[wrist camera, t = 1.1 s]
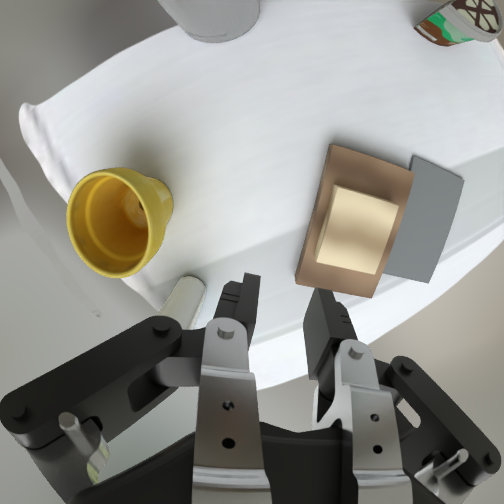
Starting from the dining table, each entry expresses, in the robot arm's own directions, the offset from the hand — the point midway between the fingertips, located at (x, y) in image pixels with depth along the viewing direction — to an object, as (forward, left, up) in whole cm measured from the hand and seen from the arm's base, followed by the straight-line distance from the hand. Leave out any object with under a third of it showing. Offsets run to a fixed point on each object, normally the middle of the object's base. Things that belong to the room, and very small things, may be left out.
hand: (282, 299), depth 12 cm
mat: (-2, +19, -19) cm, 27 cm away
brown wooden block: (0, +9, -19) cm, 21 cm away
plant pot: (+3, -15, -19) cm, 25 cm away
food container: (-30, +17, -19) cm, 40 cm away
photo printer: (+16, -9, -19) cm, 27 cm away
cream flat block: (0, +8, -17) cm, 19 cm away
